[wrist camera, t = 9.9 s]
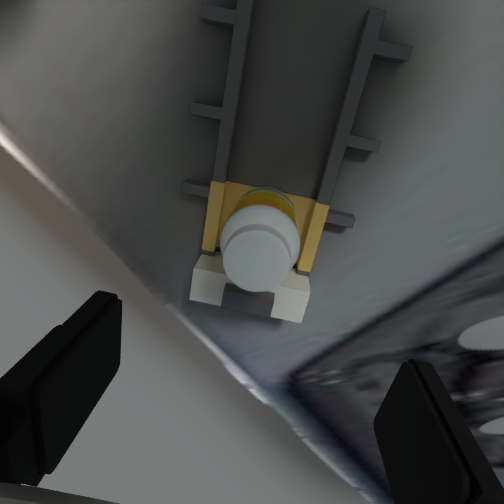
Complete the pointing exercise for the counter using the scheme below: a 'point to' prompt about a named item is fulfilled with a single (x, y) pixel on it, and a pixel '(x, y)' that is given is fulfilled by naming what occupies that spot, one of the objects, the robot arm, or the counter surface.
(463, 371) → the counter surface
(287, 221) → the supplement bottle
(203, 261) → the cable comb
